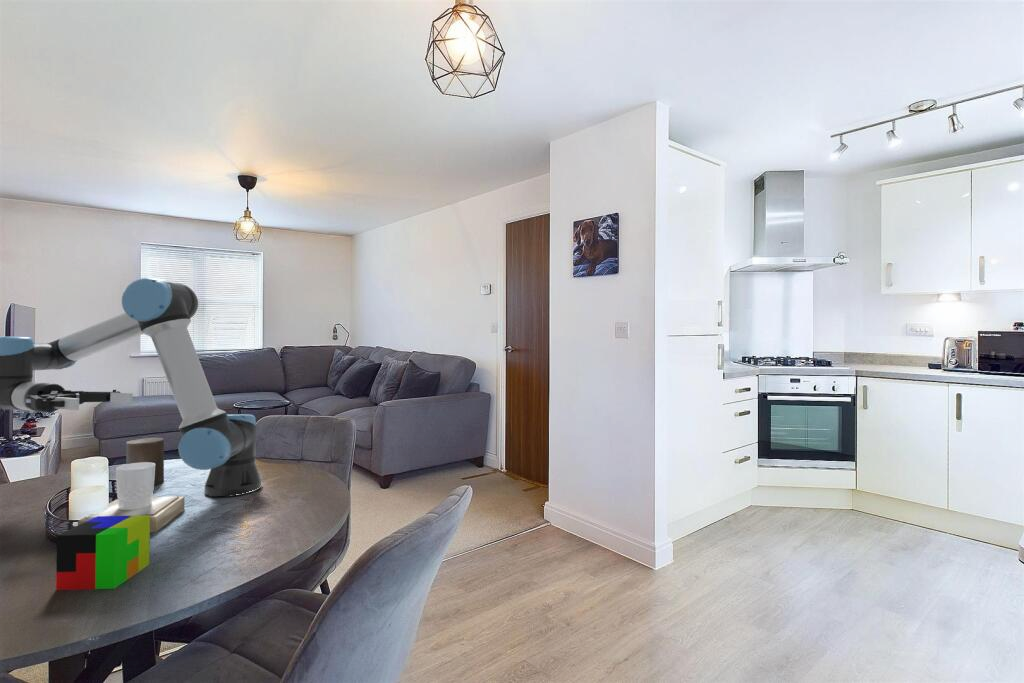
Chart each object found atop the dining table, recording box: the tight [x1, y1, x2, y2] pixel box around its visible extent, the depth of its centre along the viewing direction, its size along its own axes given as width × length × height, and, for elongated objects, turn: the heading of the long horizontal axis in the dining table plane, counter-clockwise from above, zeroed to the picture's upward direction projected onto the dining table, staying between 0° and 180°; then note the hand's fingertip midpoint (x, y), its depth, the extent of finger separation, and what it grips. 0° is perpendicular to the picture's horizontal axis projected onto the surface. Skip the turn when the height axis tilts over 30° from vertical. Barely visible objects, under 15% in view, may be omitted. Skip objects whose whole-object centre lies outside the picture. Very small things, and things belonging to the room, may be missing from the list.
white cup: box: [115, 462, 155, 510], centre depth 125 cm, size 8×8×10 cm
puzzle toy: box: [55, 516, 151, 591], centre depth 97 cm, size 10×10×10 cm
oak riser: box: [77, 495, 186, 533], centre depth 125 cm, size 16×16×4 cm
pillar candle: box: [125, 435, 165, 486], centre depth 158 cm, size 10×10×15 cm
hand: (105, 401), depth 127 cm, fingers open, 13 cm apart
